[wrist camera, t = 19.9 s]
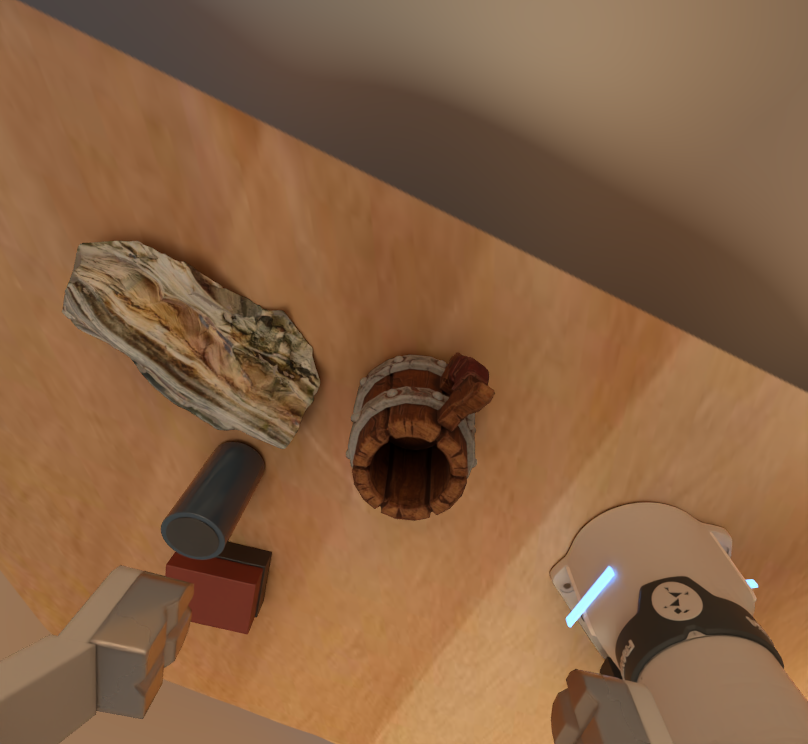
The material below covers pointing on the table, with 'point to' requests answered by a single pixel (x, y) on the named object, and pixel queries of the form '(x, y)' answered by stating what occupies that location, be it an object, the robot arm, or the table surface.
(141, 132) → the table surface
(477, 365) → the mug
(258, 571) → the notebooks
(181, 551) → the cup
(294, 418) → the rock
